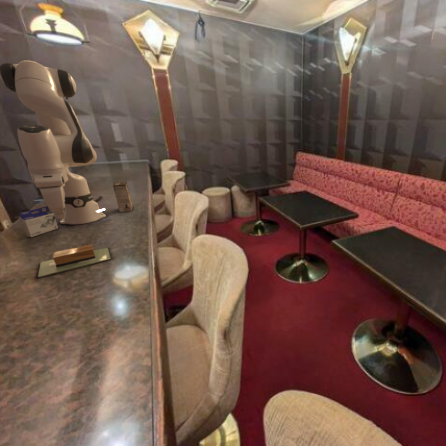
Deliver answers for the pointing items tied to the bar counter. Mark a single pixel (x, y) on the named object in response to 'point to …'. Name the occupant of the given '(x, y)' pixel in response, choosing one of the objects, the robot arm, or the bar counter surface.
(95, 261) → the chalk board
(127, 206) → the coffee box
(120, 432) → the bar counter surface
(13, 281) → the bar counter surface
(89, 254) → the eraser
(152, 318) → the bar counter surface
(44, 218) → the ink box
